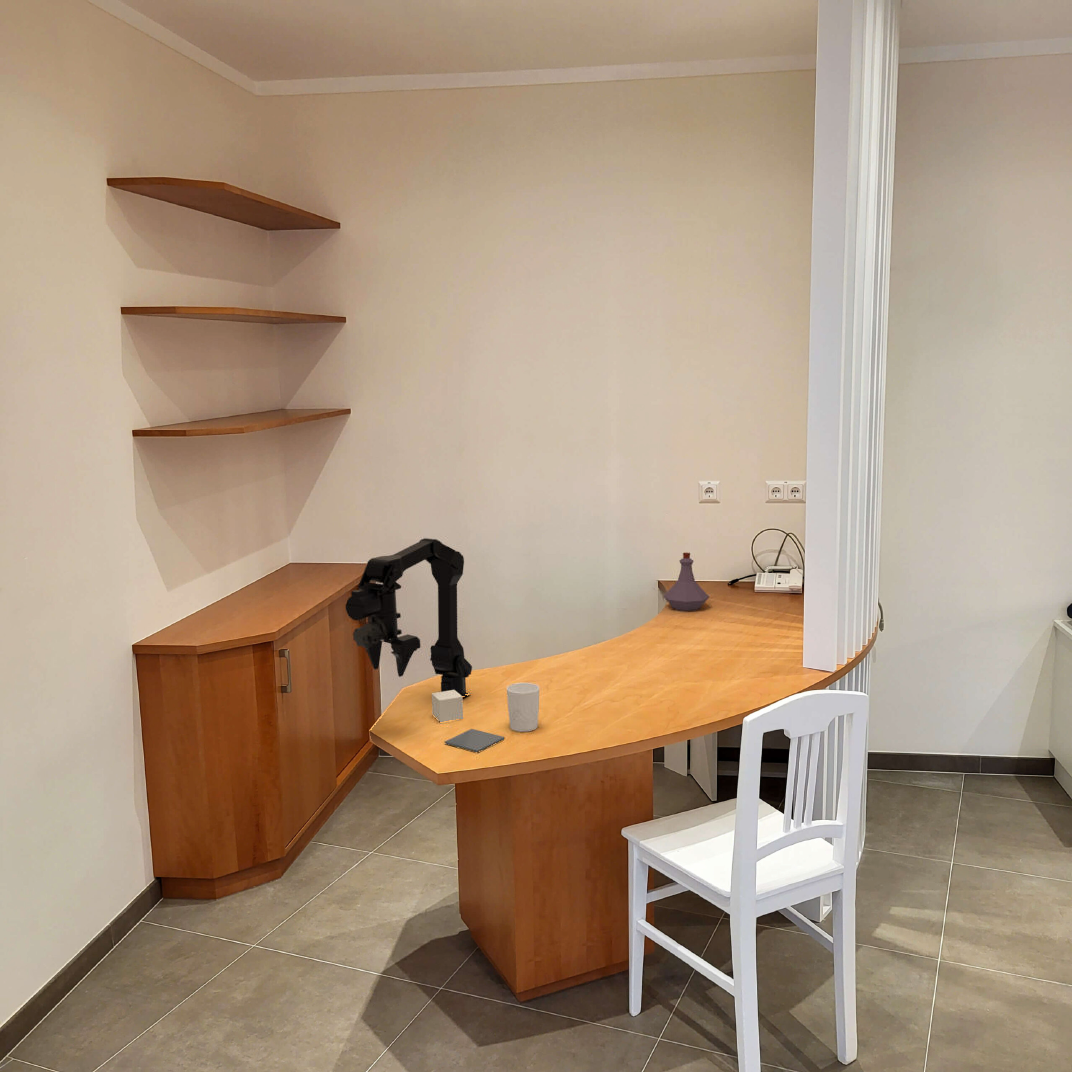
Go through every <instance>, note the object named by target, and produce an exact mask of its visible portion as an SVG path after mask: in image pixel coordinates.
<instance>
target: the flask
mask: <svg viewBox="0 0 1072 1072" xmlns="http://www.w3.org/2000/svg"><path fill="white" fill-rule="evenodd" d="M679 563H680V572H679V575H678V578H677V581H675V582H674V584H673V585H672V586H671V587H670V588H669V589H668V590H667V591H666V593H664V594H663V596H662V597H663V598H664V600H666V601H667V602H668V604H669V605H670V606H671V608H673V609H674V610H676V611H680V612H694V611H695V612H696V611H697V610H699V609H701V607H702V606H703V605H704V604H705V603H706V601H707V600H708V599H710V596H709V594H708V593H707V592H705V590H704V589H703V588H702V587H701V586H700V585H699V583H698V582H697V581H696V578H695V576H694V573H693V567H692V565H693V563H694V560H693V559H692V558H691V552H683V553H682V558H681V559H680V560H679Z"/></svg>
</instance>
